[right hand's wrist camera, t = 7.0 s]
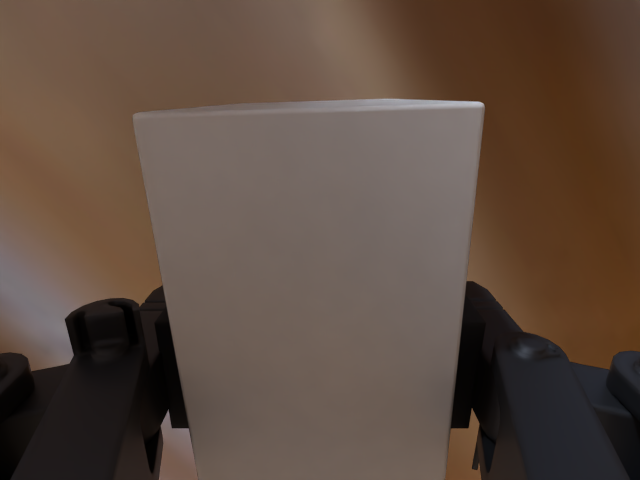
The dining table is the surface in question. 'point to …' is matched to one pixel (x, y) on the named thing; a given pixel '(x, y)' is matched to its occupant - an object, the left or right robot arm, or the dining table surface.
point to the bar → (315, 280)
